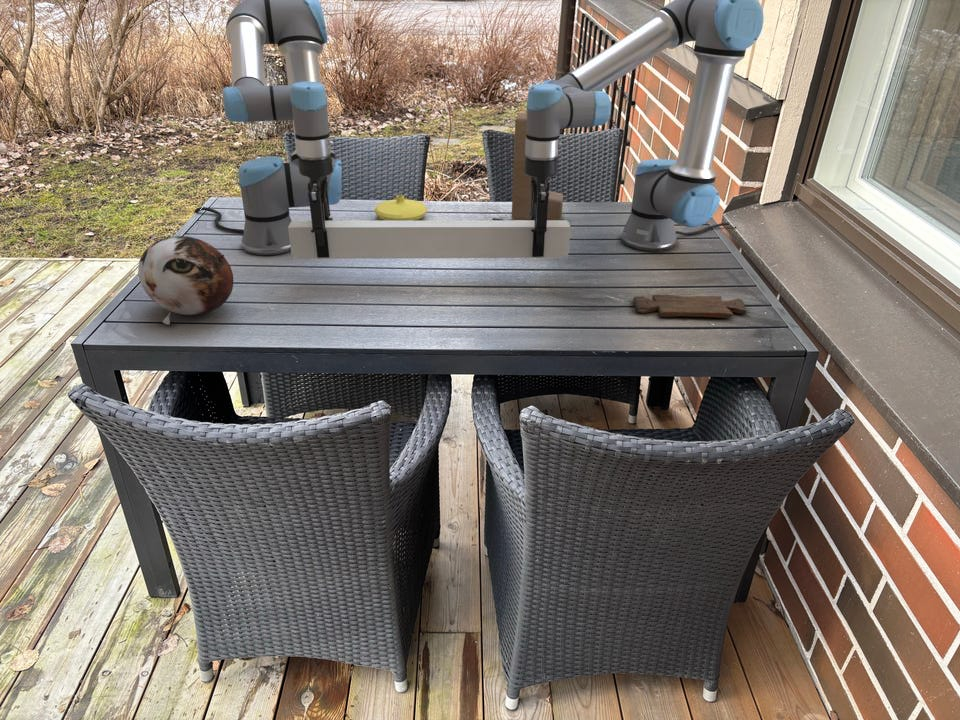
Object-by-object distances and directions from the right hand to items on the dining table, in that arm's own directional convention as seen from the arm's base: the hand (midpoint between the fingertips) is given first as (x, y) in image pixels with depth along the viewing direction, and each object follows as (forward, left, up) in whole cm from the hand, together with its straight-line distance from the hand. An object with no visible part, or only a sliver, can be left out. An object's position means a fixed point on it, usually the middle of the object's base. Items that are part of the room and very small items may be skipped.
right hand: (536, 251), depth 175 cm
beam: (+21, -15, -1) cm, 26 cm away
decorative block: (-32, -34, -8) cm, 47 cm away
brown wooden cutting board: (-18, +34, -8) cm, 39 cm away
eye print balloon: (+73, -34, -8) cm, 81 cm away
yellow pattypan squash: (+2, -58, -8) cm, 58 cm away
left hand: (+42, -30, 0) cm, 52 cm away
